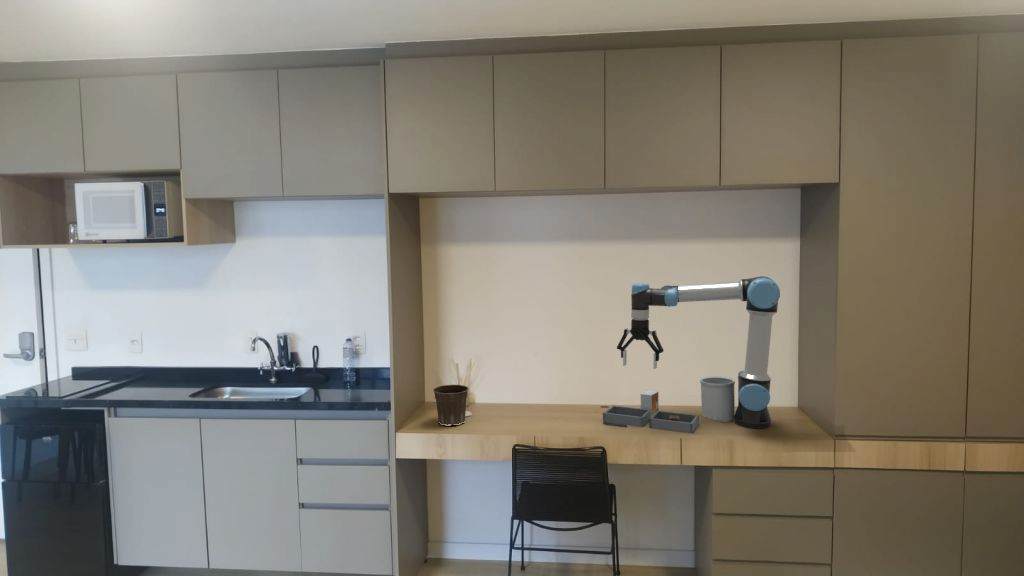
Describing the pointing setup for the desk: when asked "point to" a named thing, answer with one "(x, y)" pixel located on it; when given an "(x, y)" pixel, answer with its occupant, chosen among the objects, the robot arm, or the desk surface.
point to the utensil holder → (718, 398)
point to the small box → (650, 401)
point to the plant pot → (451, 403)
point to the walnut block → (674, 418)
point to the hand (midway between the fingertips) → (639, 366)
